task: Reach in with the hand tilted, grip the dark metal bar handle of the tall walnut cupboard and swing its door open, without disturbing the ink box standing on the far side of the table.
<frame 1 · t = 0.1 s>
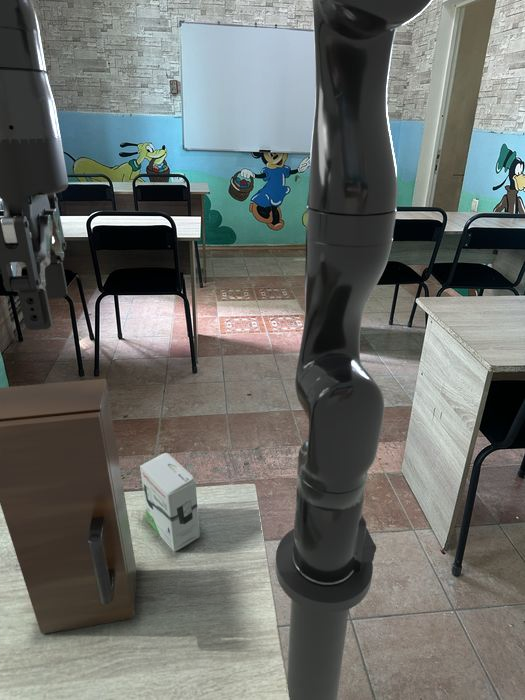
hand: (49, 311, 48), 42 cm above the table, tool pointing down, fingers open, 8 cm apart
ink box: (173, 530, 77), on the table
cabinet: (92, 595, 66), on the table
cabinet door: (64, 547, 54), point 16 cm above the table, hinge at 0.0°
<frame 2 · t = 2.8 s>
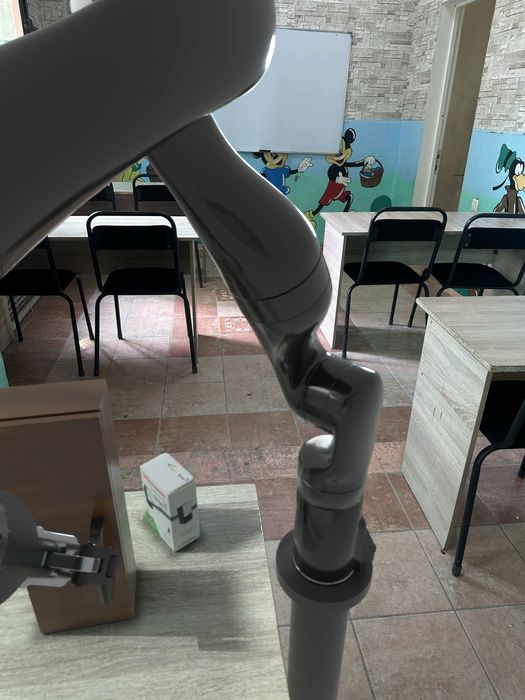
hand: (49, 557, 41), 26 cm above the table, tool tilted 40°, fingers open, 8 cm apart
nothing on the table moved.
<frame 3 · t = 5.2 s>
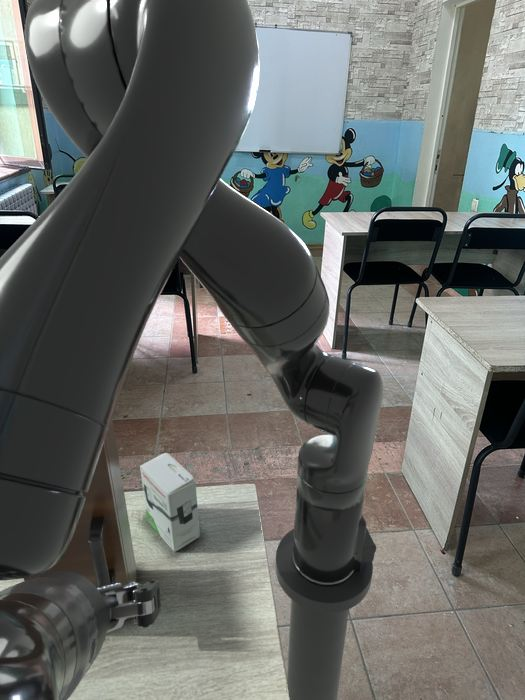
hand: (86, 600, 45), 18 cm above the table, tool tilted 45°, fingers open, 8 cm apart
nothing on the table moved.
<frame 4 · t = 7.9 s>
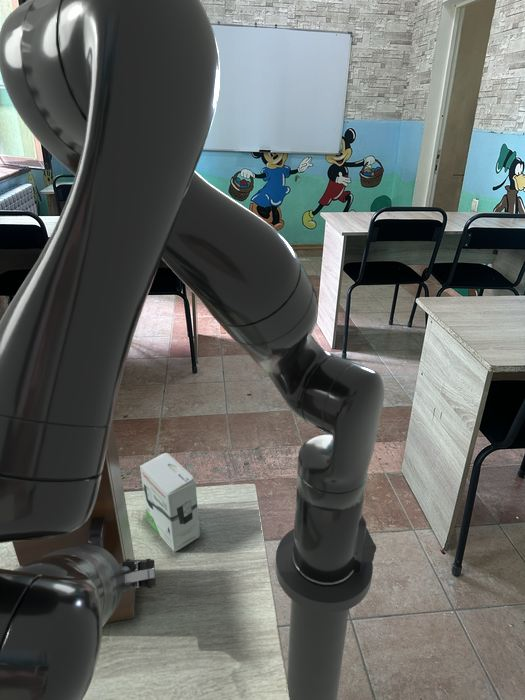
hand: (104, 572, 56), 11 cm above the table, tool tilted 45°, fingers closed
cabinet door: (64, 547, 54), point 16 cm above the table, hinge at 0.0°, touching gripper
everything else where it was.
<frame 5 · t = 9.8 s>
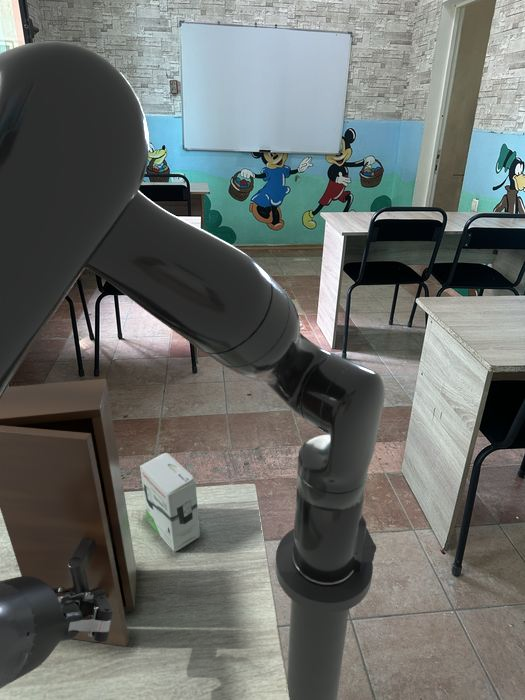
hand: (91, 596, 53), 11 cm above the table, tool tilted 45°, fingers closed
cabinet door: (53, 561, 52), point 16 cm above the table, hinge at 18.6°, touching gripper
everything else where it was.
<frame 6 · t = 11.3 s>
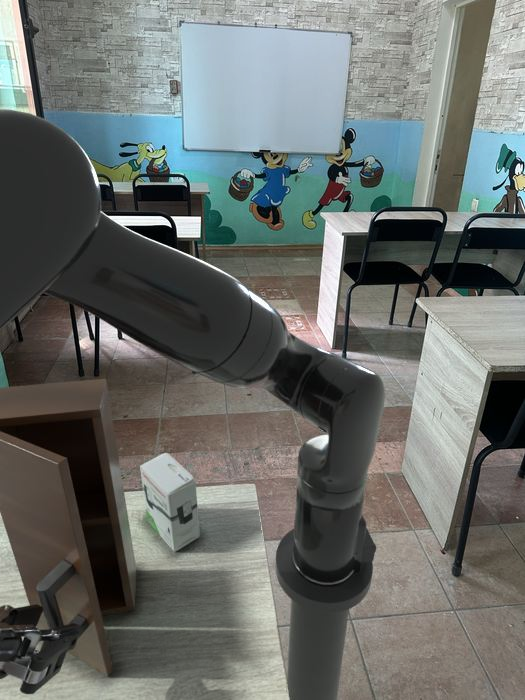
hand: (55, 625, 50), 12 cm above the table, tool tilted 45°, fingers open, 4 cm apart
cabinet door: (36, 574, 50), point 16 cm above the table, hinge at 37.7°
everything else where it was.
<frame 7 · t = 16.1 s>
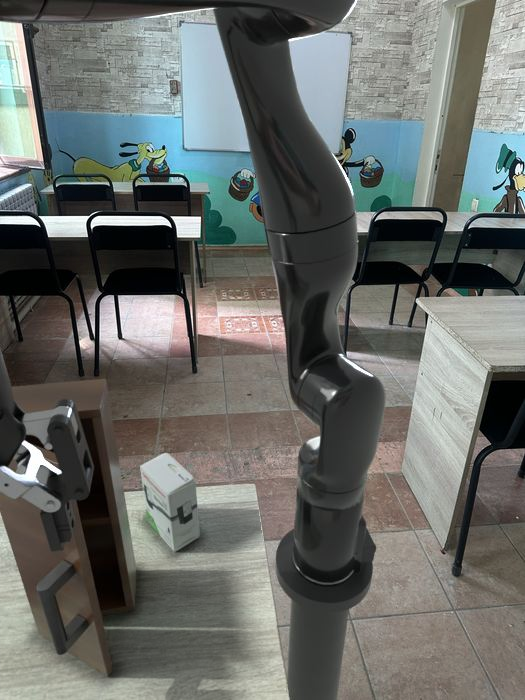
nothing on the table moved.
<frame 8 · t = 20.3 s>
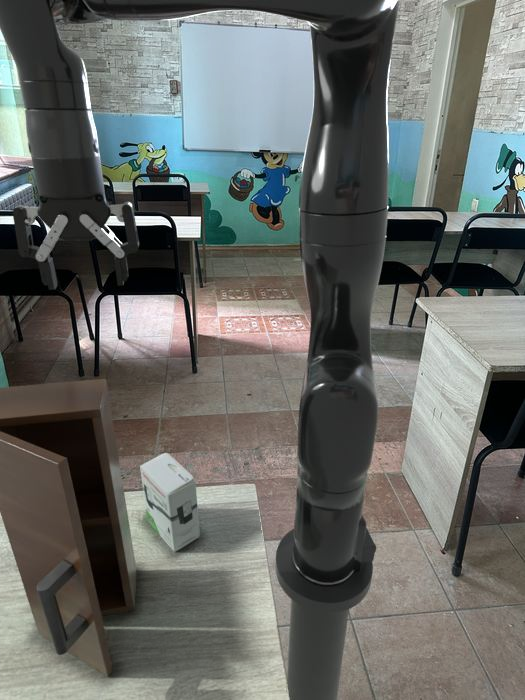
hand: (87, 285, 63), 39 cm above the table, tool pointing down, fingers open, 8 cm apart
nothing on the table moved.
at the end: cabinet door at +38° (first picture: +0°); ink box moved 0.2 cm from its start; ink box tilted 0° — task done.
